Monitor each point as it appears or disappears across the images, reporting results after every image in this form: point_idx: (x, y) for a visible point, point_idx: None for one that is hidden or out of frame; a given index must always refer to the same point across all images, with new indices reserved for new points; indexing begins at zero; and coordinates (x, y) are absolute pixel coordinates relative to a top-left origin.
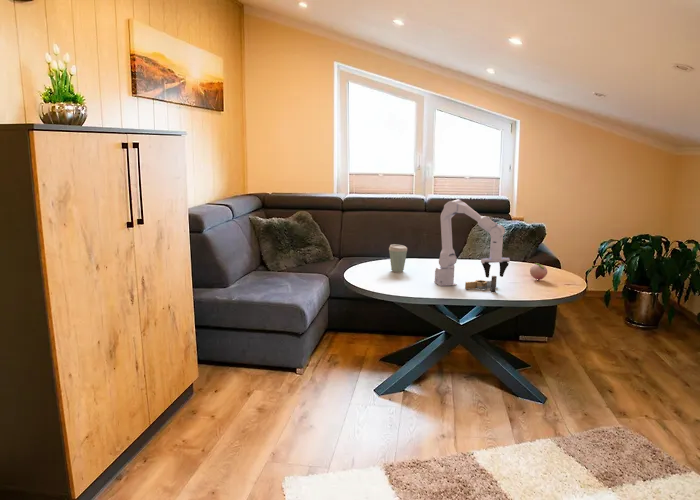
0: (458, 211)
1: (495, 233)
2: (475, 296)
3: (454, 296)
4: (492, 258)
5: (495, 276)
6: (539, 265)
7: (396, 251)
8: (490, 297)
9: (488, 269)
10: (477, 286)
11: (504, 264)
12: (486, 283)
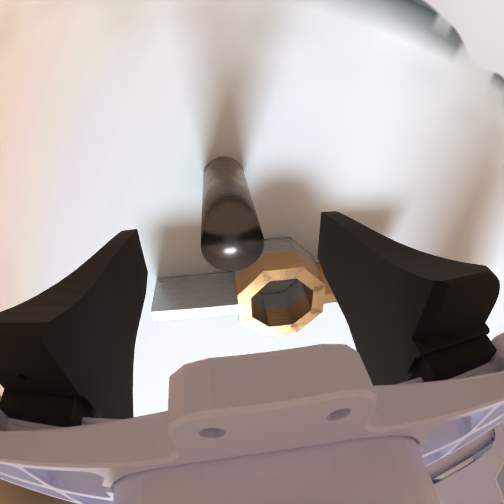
0: None
1: None
2: (411, 90)
3: (499, 132)
4: (425, 466)
5: (217, 239)
6: None
7: (469, 458)
8: (319, 35)
9: (399, 253)
10: (313, 263)
11: (55, 332)
12: (247, 279)
